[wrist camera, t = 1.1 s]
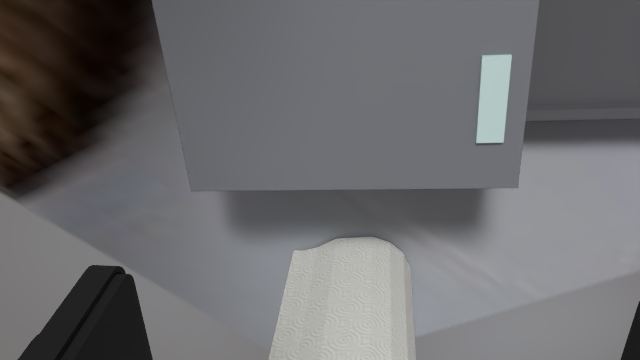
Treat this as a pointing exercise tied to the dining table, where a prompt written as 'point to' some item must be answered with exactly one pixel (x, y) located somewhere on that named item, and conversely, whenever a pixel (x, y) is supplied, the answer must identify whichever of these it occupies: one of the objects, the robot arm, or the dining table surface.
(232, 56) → the grey drawer box
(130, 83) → the dining table surface
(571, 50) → the tray
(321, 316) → the paper towel roll
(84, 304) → the robot arm
